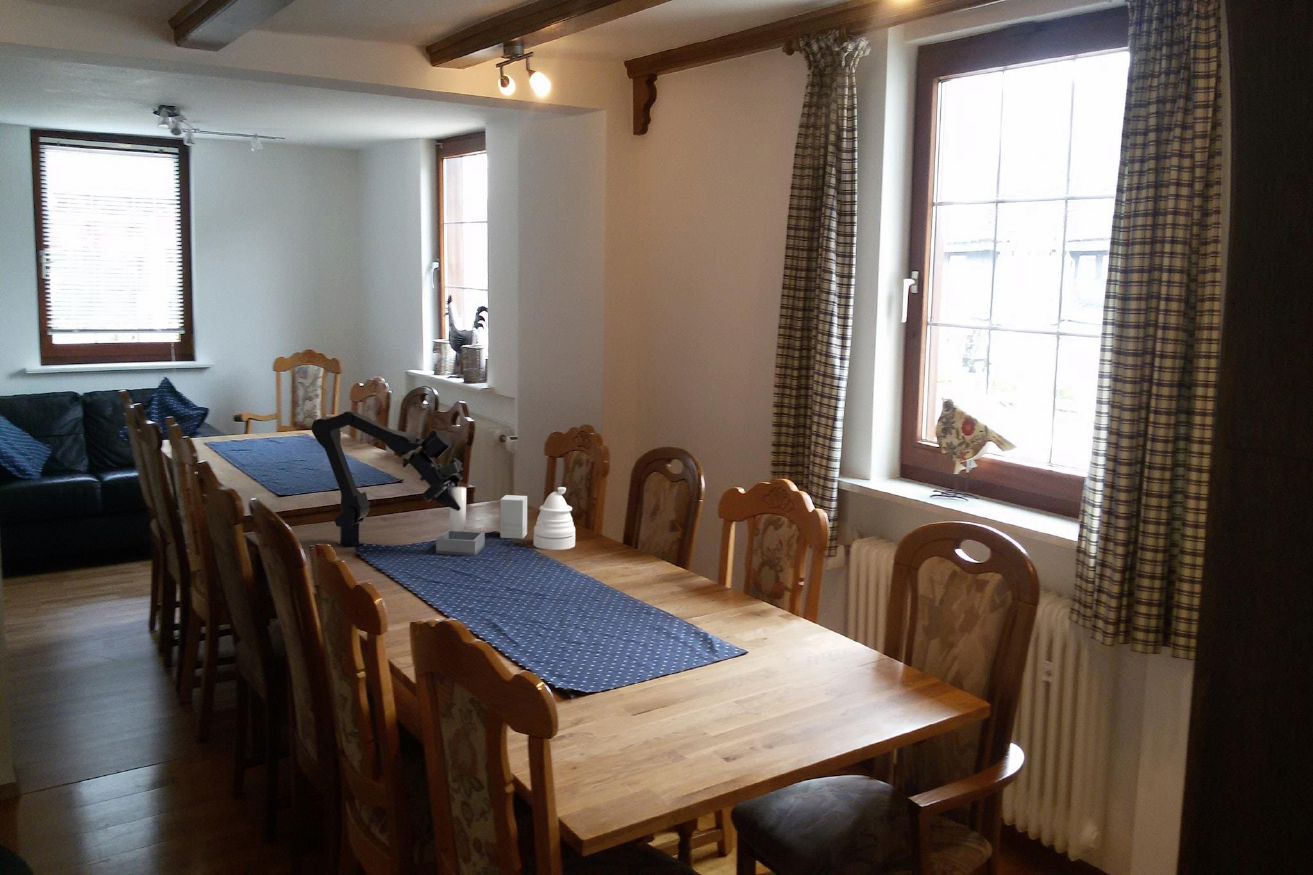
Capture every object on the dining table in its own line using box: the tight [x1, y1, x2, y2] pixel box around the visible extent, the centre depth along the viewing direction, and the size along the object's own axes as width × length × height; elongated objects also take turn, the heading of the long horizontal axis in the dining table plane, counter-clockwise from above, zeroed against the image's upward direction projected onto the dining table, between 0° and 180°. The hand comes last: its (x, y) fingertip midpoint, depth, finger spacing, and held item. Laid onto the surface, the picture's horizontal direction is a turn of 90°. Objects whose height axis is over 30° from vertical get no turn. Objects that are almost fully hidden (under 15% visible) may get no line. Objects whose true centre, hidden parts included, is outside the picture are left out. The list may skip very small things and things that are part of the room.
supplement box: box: [499, 494, 528, 540], centre depth 334 cm, size 7×7×13 cm
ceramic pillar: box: [449, 486, 467, 532], centre depth 310 cm, size 5×5×12 cm
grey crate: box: [435, 529, 486, 557], centre depth 314 cm, size 12×12×4 cm
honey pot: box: [533, 486, 576, 551], centre depth 325 cm, size 13×13×18 cm
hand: (462, 508), depth 310 cm, fingers closed on ceramic pillar, 5 cm apart
